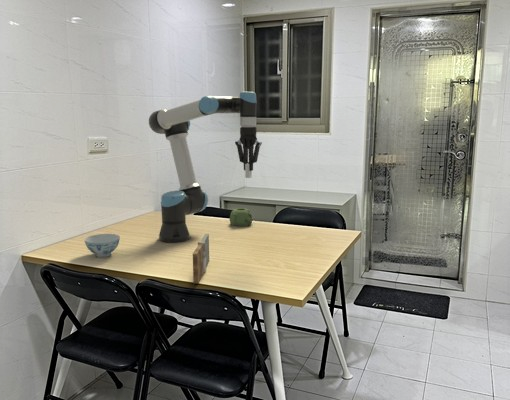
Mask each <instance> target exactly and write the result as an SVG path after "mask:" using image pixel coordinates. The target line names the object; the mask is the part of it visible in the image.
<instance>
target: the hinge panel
mask: <svg viewBox="0 0 510 400" xmlns="http://www.w3.org/2000/svg"><path fill="white" fill-rule="evenodd" d="M200 242H205V243H206V257H205V258H203V268H204V273H203V274H206V273H207V267H208V266H209V265H208V264H209V262H210V234H209V233H204V234H203V236H202V239H201V240H200ZM205 272H206V273H205Z"/></svg>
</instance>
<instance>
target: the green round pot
mask: <svg viewBox="0 0 510 400" xmlns="http://www.w3.org/2000/svg"><path fill="white" fill-rule="evenodd" d="M229 221H230V222H229V223H230V224H231V225H232V226H235V227H247V226H250V225H251V224H252V223H253V216H252V213H251V211H250V209H249V208H243V207H237V208H235V209H232V211H231V212H230V215H229Z"/></svg>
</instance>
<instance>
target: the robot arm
mask: <svg viewBox="0 0 510 400" xmlns="http://www.w3.org/2000/svg"><path fill="white" fill-rule="evenodd" d="M257 103H258V101H257V94H256V92H254V91H241V92H240V93H239V96H222V95H221V96H220V95H219V96H218V95H207V96H206V95H205V96H203V97H201V98H200V99H198V100H195V101H193V102H189V103H186V104H183V105H180V106H176V107H174V108H170V109H160V110H156V111H153V112H152V113H151V114H150V115H149V117H148V125H149V128H150V129H151V131H152V132H154V133H156V134H158V135H165V139H166V140H167V141H169V143H170V144H169V145H170V148H171V153H172V157H173V161H174V164H175V169H176V174H177V178H178V183H179V189H178V190H171V191H167V192H165V193H163V194H162V195H161V198H160V199H161V201H160V206H161V227H160V230H159V234H158V240H159V241H160V242H164V243H180V242H185V241H188V240H189V239H190V235H191V234H190V232H189V229H188V226H187V223H186V220H187V219H186V218H187V216H189V215H194V214H198V213H200V212H203V211H204V210H205V209H206V208H207V205H208V203H209V196H208V194H207V192H206V191H205V190H204V189H202V186H201V185H200V184H199V183H197V178H196V175H195V170H194V166H193V162H192V158H191V153H190V149H189V148H190V147H189V145H188V141H187V137H188V136H189V130H190V127H191V121H192V120H195V119H199V118H203V117H206V116H210V115H211V116H212V115H214V114H239V126H240V127H239V135H240V136H239V139H238V140H237V141H236V140H235V143H234V144H235V145H236V149H237V153H238V158H239V162H240V163H242V164H243V170H244V177H245V179H250V178H252V171H254V164H255V163H257V162H258V158H259V152H260V148H261V146H262V145H263V144H262V143H263V142H261V141H259V140H258V138H257V127H256V126H257Z"/></svg>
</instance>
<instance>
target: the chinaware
mask: <svg viewBox="0 0 510 400" xmlns="http://www.w3.org/2000/svg"><path fill="white" fill-rule="evenodd" d="M120 239H121V236H120V235H119V234H116V233H96V234H93V235H89V236H87V237H85V238H84V244H85V246H86V247H87V249H88V250H89V251H90V252H91V253H92V254H94V255H95V257H97V258H98V257H99V258H105V257H109V256H112V253H113V252H114V251H115V250H116V249H117V248H118V246H119V243H120Z"/></svg>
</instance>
